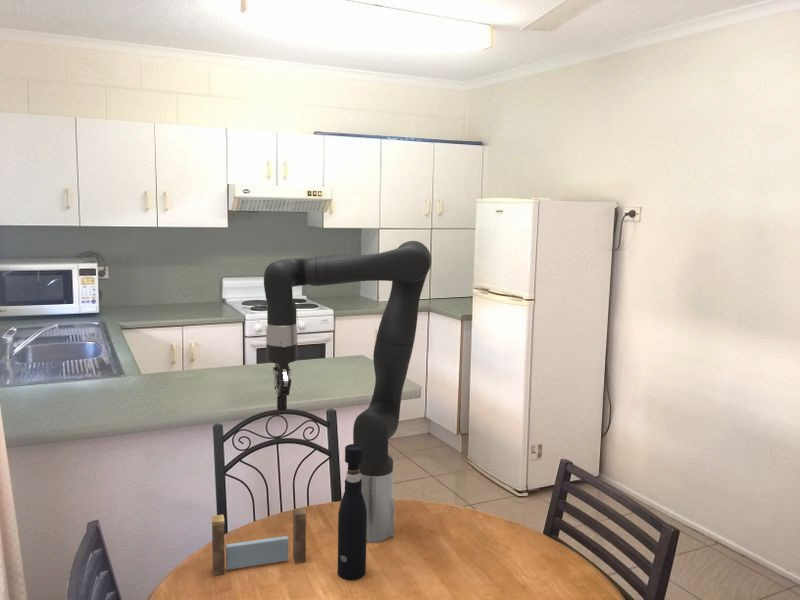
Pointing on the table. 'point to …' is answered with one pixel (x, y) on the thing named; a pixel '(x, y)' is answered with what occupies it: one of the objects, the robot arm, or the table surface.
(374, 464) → the robot arm
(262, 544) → the gate
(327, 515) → the table surface
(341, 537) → the black water bottle
